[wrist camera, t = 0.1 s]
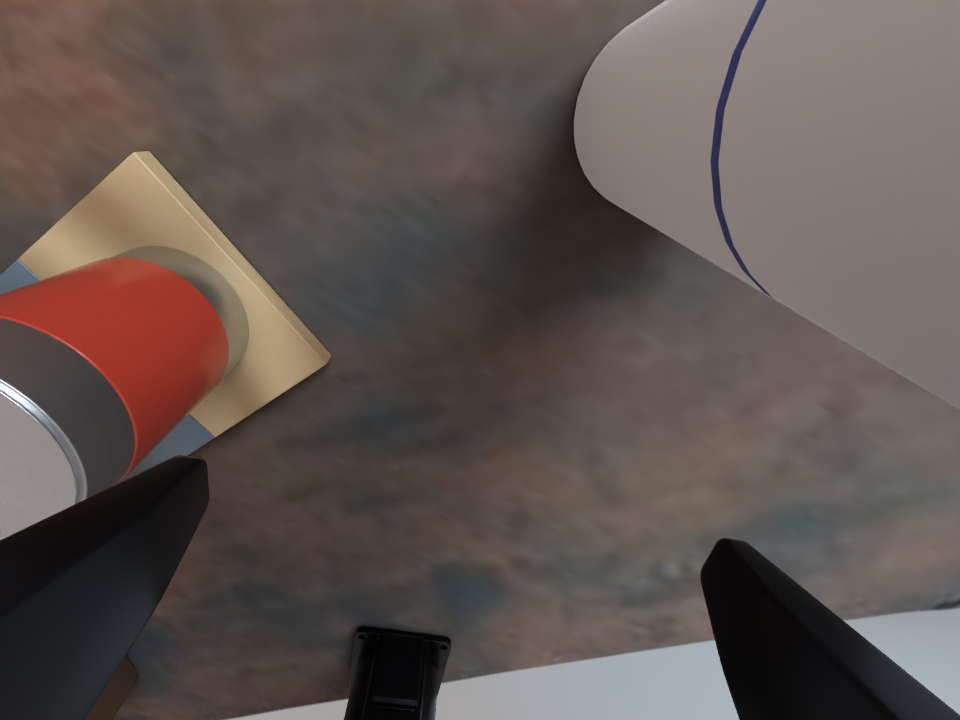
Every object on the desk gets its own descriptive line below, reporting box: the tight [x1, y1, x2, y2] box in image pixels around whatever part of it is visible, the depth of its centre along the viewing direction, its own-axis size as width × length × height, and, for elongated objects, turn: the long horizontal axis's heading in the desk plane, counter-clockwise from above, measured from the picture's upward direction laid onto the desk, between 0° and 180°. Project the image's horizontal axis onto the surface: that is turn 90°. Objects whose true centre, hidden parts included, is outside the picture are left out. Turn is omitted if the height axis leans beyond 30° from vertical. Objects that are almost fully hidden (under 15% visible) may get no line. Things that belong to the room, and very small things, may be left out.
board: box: [0, 151, 331, 483], centre depth 24 cm, size 24×11×1 cm, turn 124°
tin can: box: [0, 246, 249, 540], centre depth 17 cm, size 6×6×10 cm
